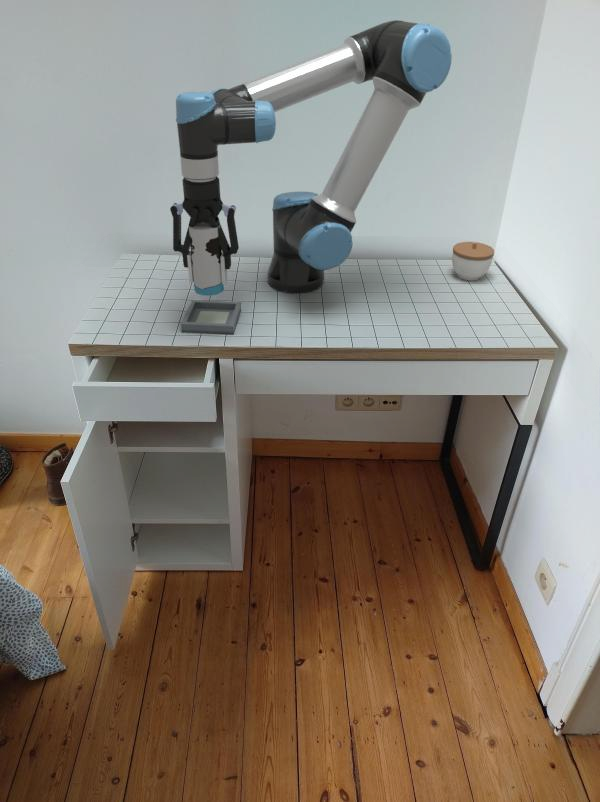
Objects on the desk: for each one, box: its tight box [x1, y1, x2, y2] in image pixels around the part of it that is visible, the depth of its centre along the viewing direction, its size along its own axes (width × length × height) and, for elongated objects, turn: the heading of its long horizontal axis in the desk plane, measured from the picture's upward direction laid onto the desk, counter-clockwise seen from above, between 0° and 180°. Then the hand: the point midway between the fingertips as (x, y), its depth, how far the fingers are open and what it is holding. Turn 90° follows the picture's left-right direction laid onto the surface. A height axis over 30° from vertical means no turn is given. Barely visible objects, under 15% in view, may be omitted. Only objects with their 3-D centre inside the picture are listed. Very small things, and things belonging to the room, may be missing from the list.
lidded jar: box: [451, 241, 495, 281], centre depth 163 cm, size 11×11×9 cm
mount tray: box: [180, 299, 242, 336], centre depth 143 cm, size 12×12×2 cm
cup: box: [188, 222, 225, 297], centre depth 134 cm, size 7×7×15 cm
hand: (208, 280), depth 137 cm, fingers closed on cup, 7 cm apart
